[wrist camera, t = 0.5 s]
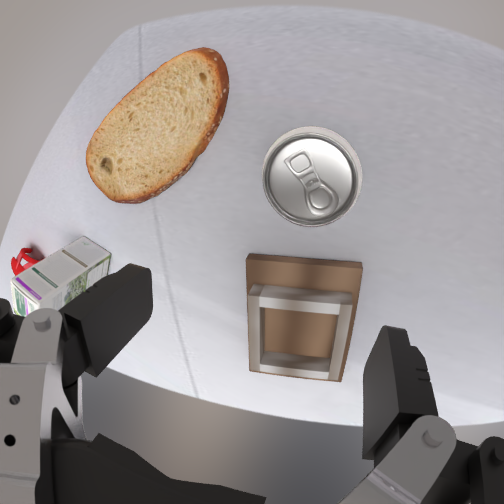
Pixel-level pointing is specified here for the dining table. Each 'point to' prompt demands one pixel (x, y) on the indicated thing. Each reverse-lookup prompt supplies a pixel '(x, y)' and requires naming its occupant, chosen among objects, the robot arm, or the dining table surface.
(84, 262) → the syrup box
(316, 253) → the dining table surface
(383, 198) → the dining table surface
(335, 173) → the can
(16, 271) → the red plastic domed piece
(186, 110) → the slice of bread
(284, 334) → the board
